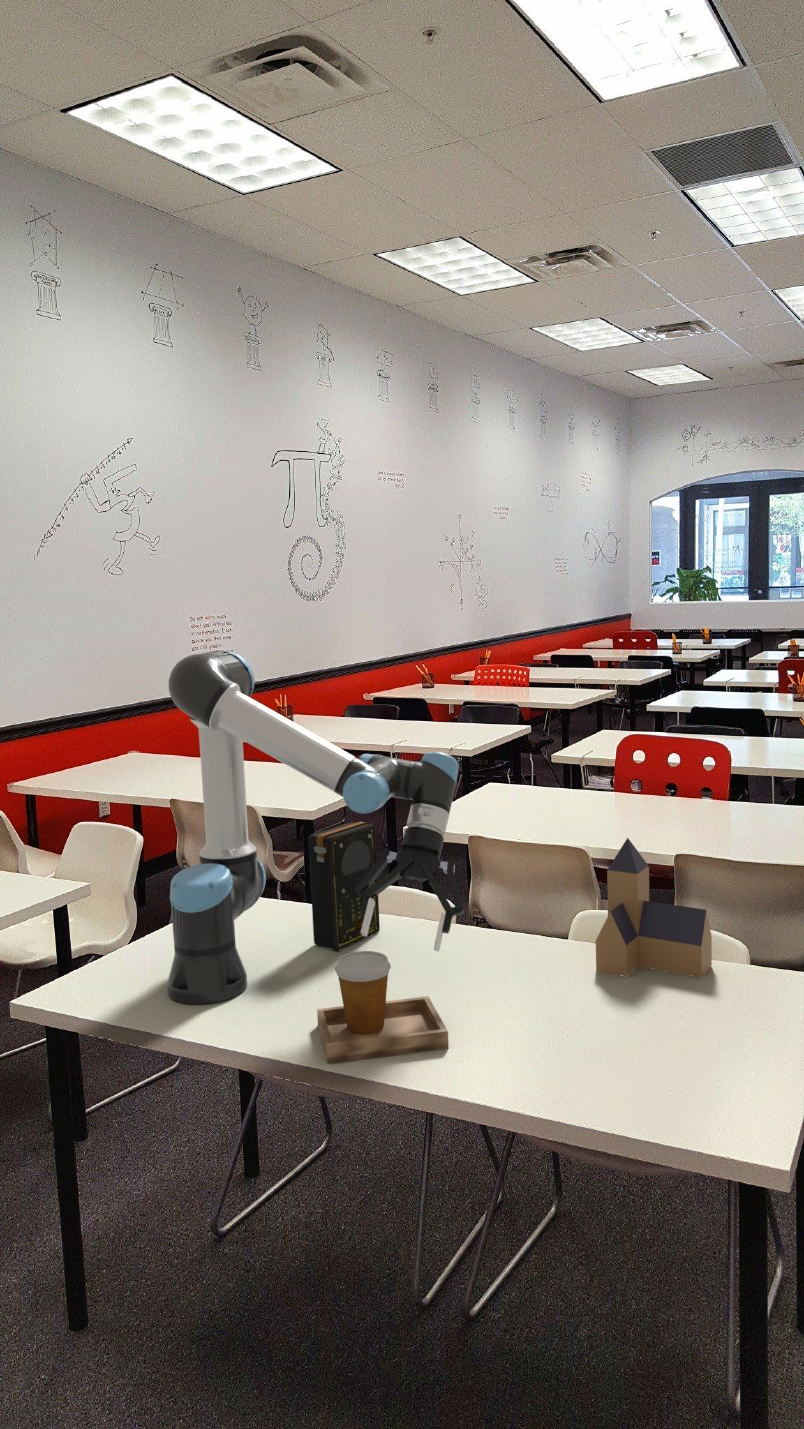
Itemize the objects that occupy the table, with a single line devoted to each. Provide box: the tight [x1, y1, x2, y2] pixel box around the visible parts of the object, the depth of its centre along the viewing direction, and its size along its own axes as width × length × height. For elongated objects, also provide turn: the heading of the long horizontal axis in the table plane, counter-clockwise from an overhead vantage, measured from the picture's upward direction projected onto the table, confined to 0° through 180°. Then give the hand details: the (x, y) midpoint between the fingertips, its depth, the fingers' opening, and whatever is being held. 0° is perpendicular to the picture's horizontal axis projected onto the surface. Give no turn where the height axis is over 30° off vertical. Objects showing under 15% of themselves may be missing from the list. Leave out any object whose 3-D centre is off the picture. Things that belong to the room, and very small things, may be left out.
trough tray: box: [316, 995, 450, 1065], centre depth 170 cm, size 20×15×3 cm
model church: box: [595, 837, 713, 978], centre depth 194 cm, size 12×19×25 cm, turn 56°
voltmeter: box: [308, 821, 381, 953], centre depth 218 cm, size 16×9×25 cm, turn 143°
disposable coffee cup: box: [334, 950, 392, 1035], centre depth 172 cm, size 10×10×12 cm
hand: (399, 942), depth 181 cm, fingers open, 13 cm apart
